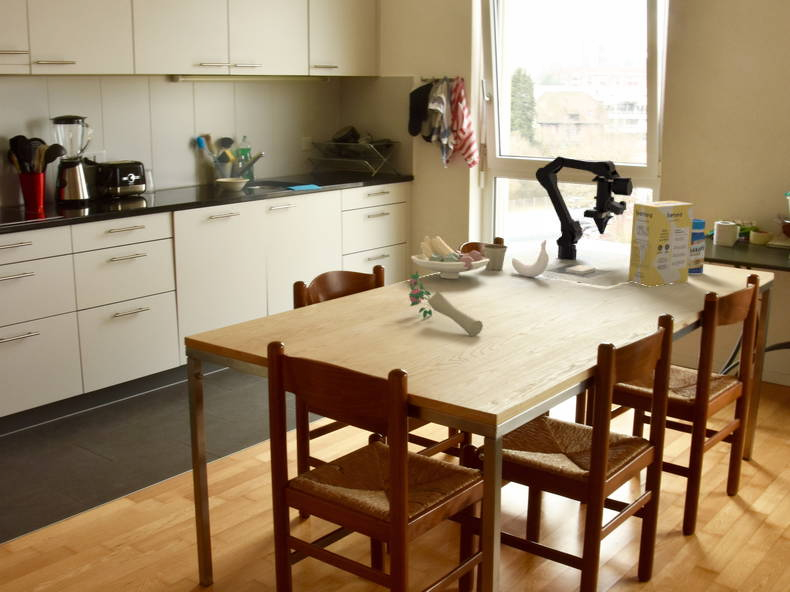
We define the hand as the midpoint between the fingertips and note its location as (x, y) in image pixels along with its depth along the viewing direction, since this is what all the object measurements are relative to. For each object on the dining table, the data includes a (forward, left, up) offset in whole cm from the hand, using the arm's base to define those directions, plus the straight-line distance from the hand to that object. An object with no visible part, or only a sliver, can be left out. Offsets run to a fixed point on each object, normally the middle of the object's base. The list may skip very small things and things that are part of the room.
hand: (601, 234), depth 341 cm
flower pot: (-24, -36, -12) cm, 45 cm away
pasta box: (+31, -12, -12) cm, 35 cm away
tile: (+4, -16, -11) cm, 19 cm away
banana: (-7, -38, -12) cm, 41 cm away
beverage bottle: (+33, +10, -12) cm, 37 cm away
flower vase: (+12, -109, -12) cm, 111 cm away
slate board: (+3, -20, -12) cm, 24 cm away
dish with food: (-26, -60, -12) cm, 66 cm away
